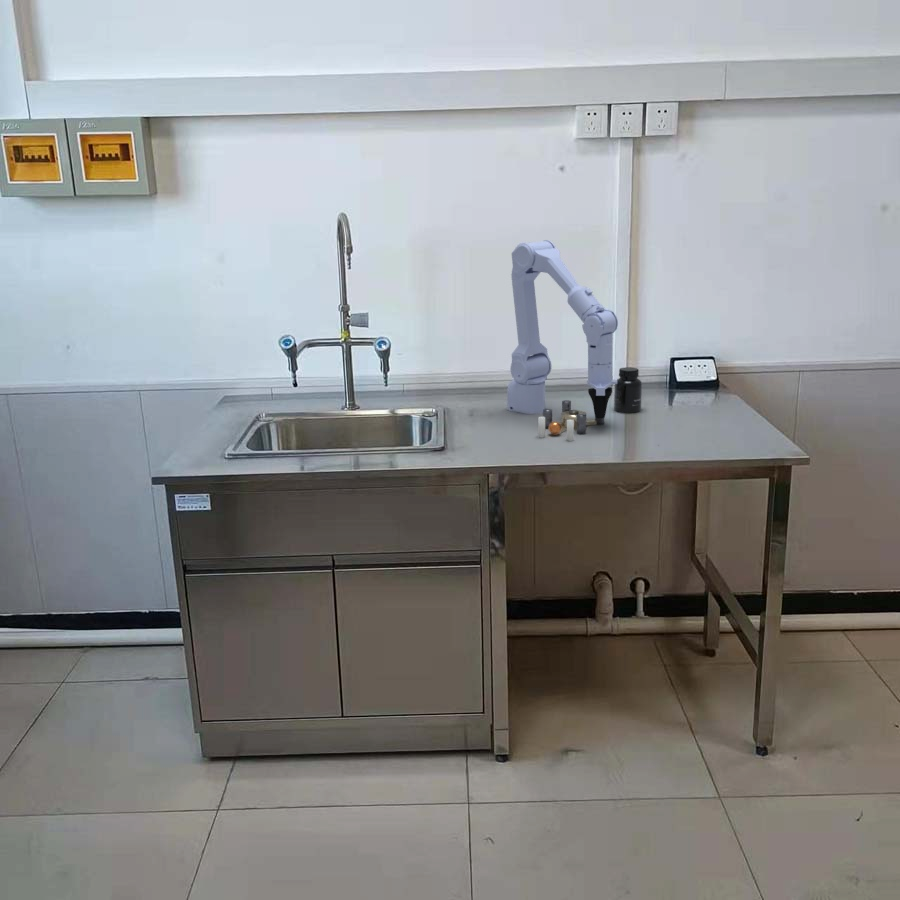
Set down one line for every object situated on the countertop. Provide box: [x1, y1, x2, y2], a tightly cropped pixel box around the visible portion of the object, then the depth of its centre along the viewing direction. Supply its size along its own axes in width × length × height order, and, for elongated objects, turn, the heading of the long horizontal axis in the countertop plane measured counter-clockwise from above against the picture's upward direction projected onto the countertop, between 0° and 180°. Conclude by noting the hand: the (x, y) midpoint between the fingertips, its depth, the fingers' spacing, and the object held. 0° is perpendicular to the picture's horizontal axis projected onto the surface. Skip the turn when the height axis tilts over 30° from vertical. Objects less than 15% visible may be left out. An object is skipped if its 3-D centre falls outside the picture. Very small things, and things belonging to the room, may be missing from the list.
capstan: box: [542, 399, 605, 436], centre depth 214 cm, size 16×16×4 cm
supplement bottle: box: [613, 367, 643, 415], centre depth 225 cm, size 7×7×12 cm
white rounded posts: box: [537, 415, 575, 442], centre depth 206 cm, size 9×6×5 cm
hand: (600, 417), depth 213 cm, fingers closed
